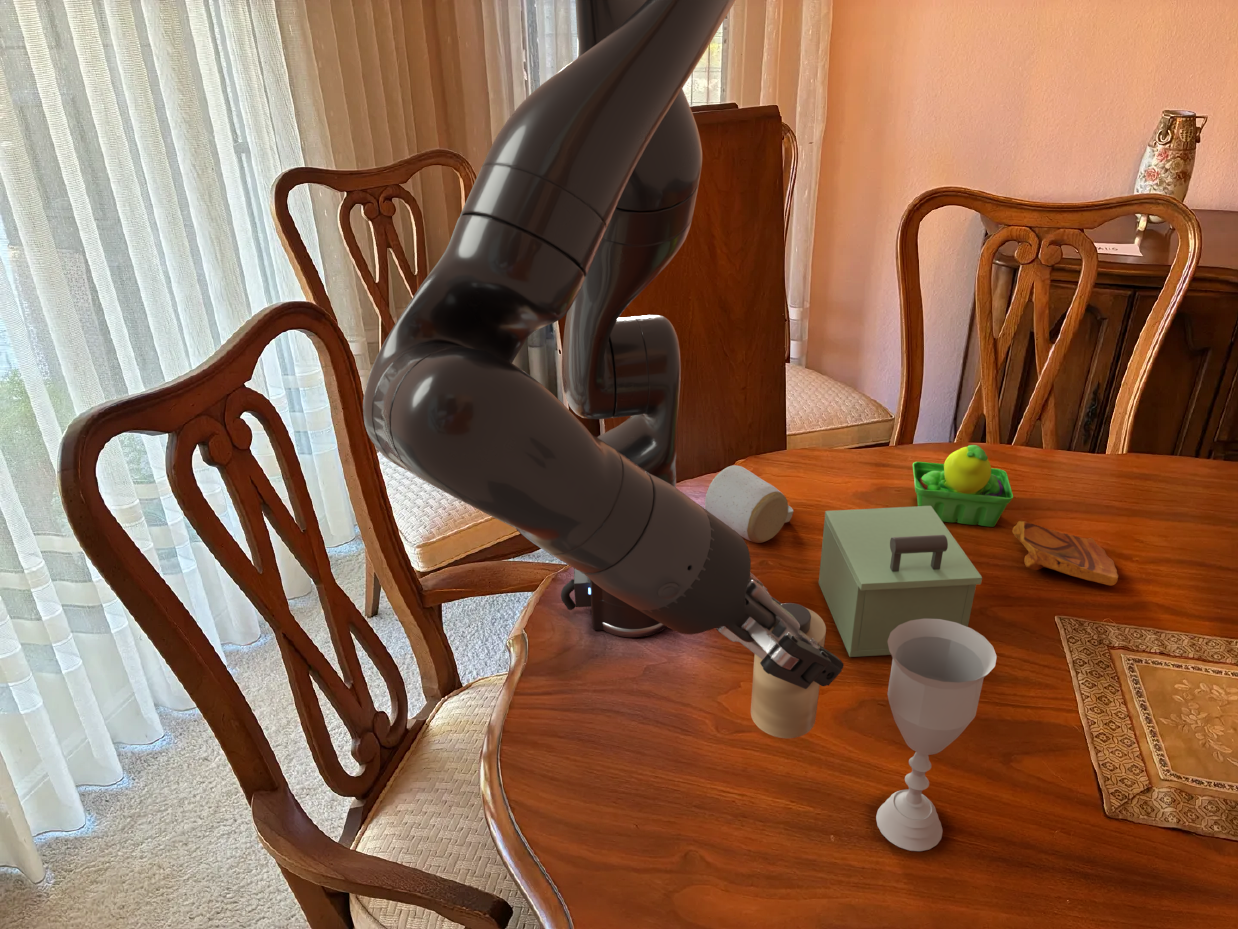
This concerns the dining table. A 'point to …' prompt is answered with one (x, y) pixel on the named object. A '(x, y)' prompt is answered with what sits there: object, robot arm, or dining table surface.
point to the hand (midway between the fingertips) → (810, 649)
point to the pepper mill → (787, 687)
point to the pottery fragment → (1065, 553)
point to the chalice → (929, 714)
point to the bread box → (881, 603)
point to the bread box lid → (900, 548)
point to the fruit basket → (963, 488)
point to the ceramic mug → (747, 504)
